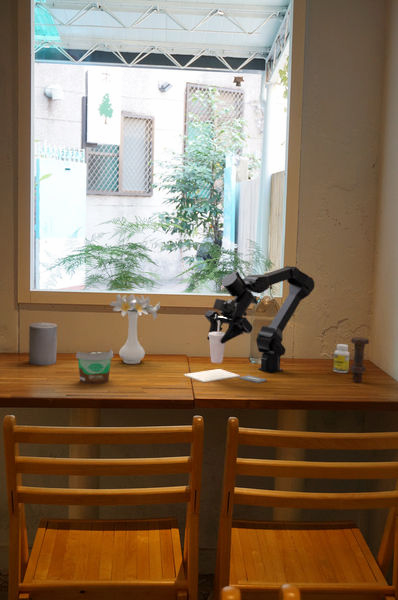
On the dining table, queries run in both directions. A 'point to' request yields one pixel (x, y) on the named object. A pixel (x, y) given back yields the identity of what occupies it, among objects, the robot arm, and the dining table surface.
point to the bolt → (358, 358)
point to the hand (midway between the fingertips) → (214, 341)
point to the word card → (253, 379)
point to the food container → (94, 366)
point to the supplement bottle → (341, 359)
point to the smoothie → (216, 345)
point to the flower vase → (133, 324)
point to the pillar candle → (42, 343)
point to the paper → (211, 375)
